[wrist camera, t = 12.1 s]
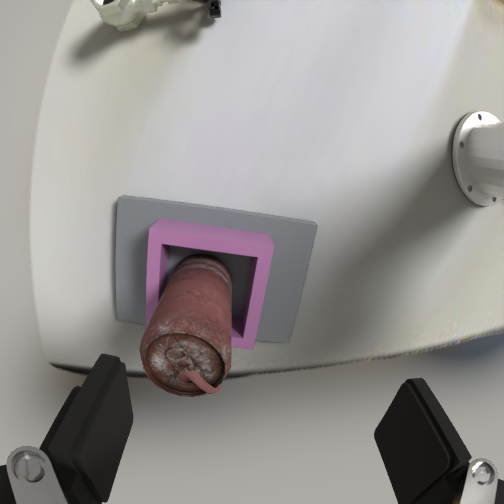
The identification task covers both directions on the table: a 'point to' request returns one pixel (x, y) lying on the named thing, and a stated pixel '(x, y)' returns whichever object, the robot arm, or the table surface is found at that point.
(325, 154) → the table surface
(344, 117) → the table surface
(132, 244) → the cup holder
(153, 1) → the valve
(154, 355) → the can
